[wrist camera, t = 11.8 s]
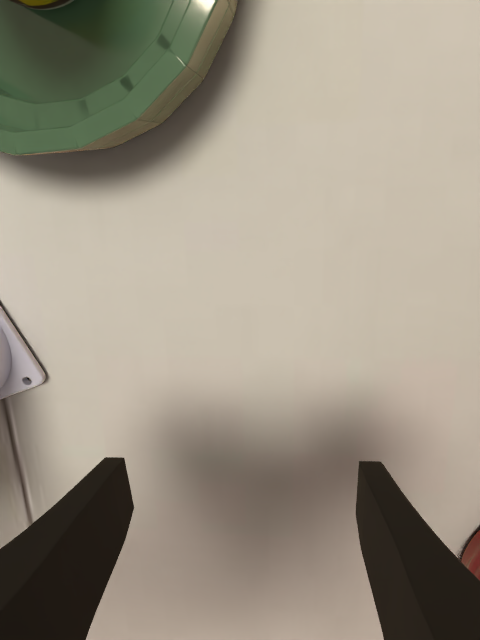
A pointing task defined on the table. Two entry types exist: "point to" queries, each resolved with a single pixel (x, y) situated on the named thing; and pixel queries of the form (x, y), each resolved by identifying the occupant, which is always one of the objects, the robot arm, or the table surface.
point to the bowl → (101, 69)
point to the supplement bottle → (42, 3)
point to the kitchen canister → (473, 555)
